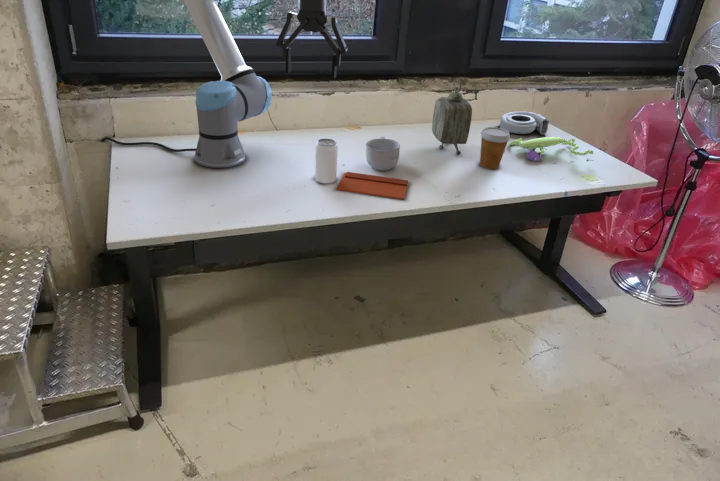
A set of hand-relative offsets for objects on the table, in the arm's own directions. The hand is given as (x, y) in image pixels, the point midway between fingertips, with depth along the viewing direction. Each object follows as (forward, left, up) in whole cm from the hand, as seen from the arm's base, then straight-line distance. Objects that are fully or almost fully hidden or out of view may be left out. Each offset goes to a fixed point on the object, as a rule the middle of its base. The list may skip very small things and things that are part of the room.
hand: (311, 75), depth 156 cm
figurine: (+79, +40, -29) cm, 93 cm away
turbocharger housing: (+70, +64, -29) cm, 99 cm away
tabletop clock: (+42, +31, -29) cm, 60 cm away
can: (+7, -8, -29) cm, 31 cm away
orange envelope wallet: (+22, -8, -29) cm, 37 cm away
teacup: (+22, +9, -29) cm, 37 cm away
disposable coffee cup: (+57, +21, -29) cm, 67 cm away
